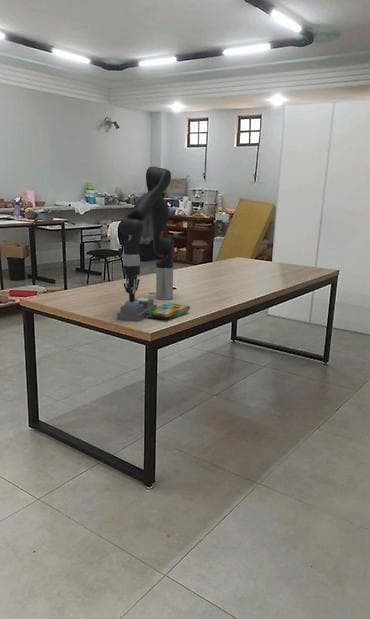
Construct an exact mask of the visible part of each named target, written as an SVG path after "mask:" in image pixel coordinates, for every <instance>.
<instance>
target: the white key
mask: <svg viewBox="0 0 370 619" xmlns="http://www.w3.org/2000/svg"><path fill="white" fill-rule="evenodd" d="M150 299H151V298H150ZM150 299H147V297H139V299H137V300H136V301H145V302H146V301H148V300H150Z"/></svg>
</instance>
